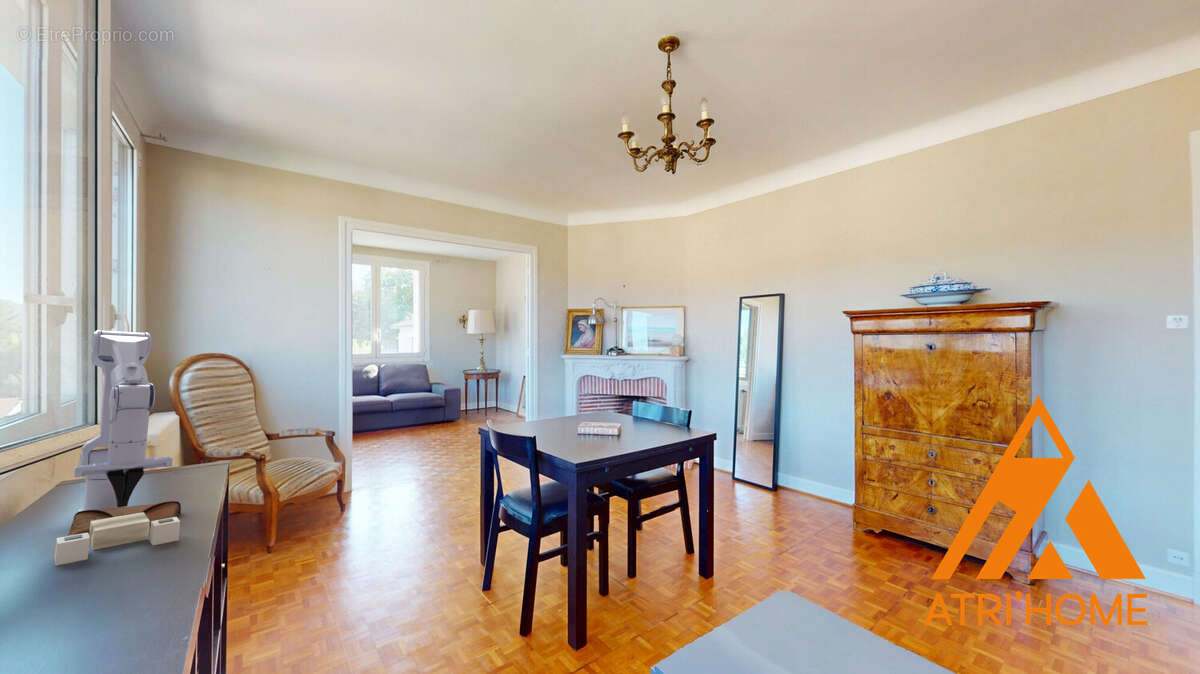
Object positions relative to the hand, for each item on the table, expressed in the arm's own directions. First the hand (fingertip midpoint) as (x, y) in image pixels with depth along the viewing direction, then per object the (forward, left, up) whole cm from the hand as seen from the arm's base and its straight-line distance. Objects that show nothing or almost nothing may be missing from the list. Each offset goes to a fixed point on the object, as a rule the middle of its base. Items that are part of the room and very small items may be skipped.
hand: (121, 505), depth 98 cm
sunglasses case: (-10, +2, -8) cm, 13 cm away
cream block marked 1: (+7, -7, -7) cm, 12 cm away
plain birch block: (0, 0, -7) cm, 7 cm away
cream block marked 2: (+7, +6, -7) cm, 12 cm away
